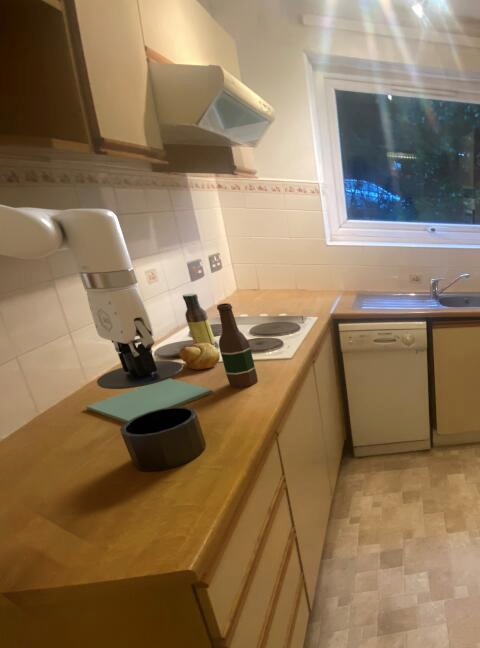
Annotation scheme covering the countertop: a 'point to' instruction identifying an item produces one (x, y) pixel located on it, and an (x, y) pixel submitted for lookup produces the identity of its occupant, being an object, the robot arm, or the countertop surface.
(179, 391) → the cutting board
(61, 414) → the countertop surface
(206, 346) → the bread roll
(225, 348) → the beer bottle
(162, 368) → the pot lid
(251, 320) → the countertop surface
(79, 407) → the countertop surface
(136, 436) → the pot
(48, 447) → the countertop surface
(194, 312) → the sauce bottle
